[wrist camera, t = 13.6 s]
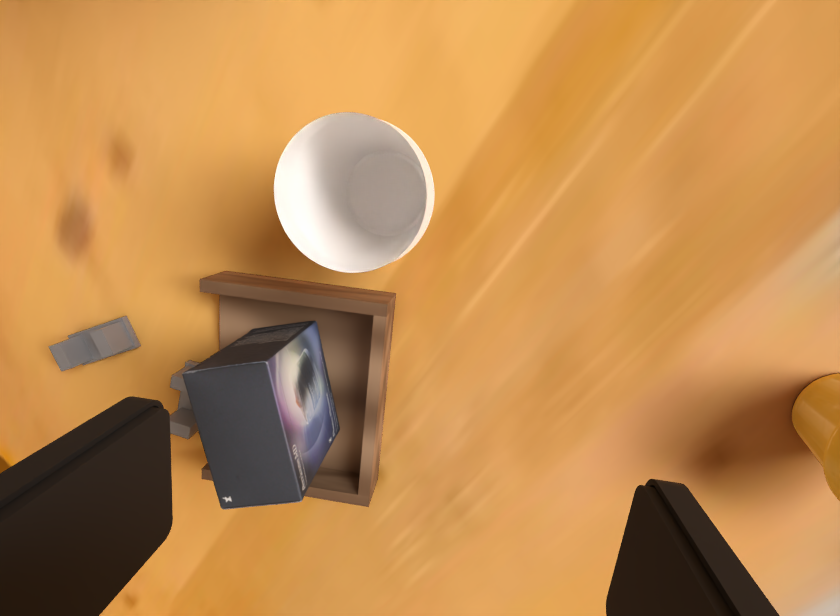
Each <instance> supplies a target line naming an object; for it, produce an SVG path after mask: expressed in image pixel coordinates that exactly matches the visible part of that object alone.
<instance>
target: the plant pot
mask: <svg viewBox="0 0 840 616" xmlns="http://www.w3.org/2000/svg"><path fill="white" fill-rule="evenodd" d="M792 422H793V425H794V428H795V430H796V432H797V433H798V435H799V436H800V437H801V439H802V440H803V441H804V442H805V444H806V445H807V446H808V448H809V449H810V450H811V452H812V453H813V454H814V456H815V457H816V458H817V460H818V461H819V462H820V464H821V465H822V466H823V468H824V474H825V477H826V480H827V483H828V485H829V487H830V489H831V491H832V492H833V494H834V495H835V496H836V497H837V499H838V500H839V501H840V373H837V374H832V375H828V376H825V377H822V378H820V379H817V380H815V381H813V382H812V383H811V384H809V385H808V386H807V387H806V388H805V389H804V390H803V391H802V392H801V393H800V394H799V396H798V398H797V399H796V401H795V403H794V406H793V409H792Z"/></svg>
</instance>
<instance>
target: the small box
mask: <svg viewBox="0 0 840 616" xmlns="http://www.w3.org/2000/svg"><path fill="white" fill-rule="evenodd" d="M182 376H183V379H184V383H185V386H186V390H187V393H188V397H189V400H190V403H191V407H192V410H193V414H194V417H195V420H196V424H197V427H198V431H199V434H200V438H201V441H202V444H203V448H204V451H205V454H206V458H207V462H208V465H209V468H210V471H211V475H212V478H213V482H214V485H215V489H216V492H217V495H218V499H219V502H220V506H221V508H222V509H234V508H243V507H254V506H265V505H277V504H286V503H295V502H301V501H302V500H303V497H304V495H305V493H306V491H307V489H308V487H309V486H310V484H311V482H312V480H313V478H314V476H315V475H316V473H317V471H318V469H319V467H320V465H321V463H322V461H323V460H324V458H325V456H326V454H327V452H328V450H329V449H330V447H331V445H332V443H333V441H334V439H335V438H336V436H337V434H338V432H339V431H340V426H339V422H338V417H337V413H336V408H335V403H334V399H333V394H332V390H331V385H330V380H329V376H328V371H327V367H326V362H325V357H324V353H323V348H322V344H321V339H320V334H319V330H318V325H317V322H316V321H306V322H298V323H291V324H283V325H276V326H270V327H262V328H254V329H252V330H250V331H249V332H248V333H247V334H245V335H244V336H242V337H241V338H239V339H237V340H236V341H234V342H233V343H231V344H229V345H228V346H226V347H225V348H223V349H222V350H220V351H218V352H217V353H215V354H214V355H212V356H211V357H210V358H207V359H206V360H204V361H203V362H201V363H200V364H197V365H196V366H194V367H193V368H191V369H188V370H187V371H185V372H183V373H182Z"/></svg>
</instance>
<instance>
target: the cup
mask: <svg viewBox="0 0 840 616" xmlns="http://www.w3.org/2000/svg"><path fill="white" fill-rule="evenodd" d="M274 198H275V205H276V210H277V213H278V217H279V220H280V222H281V224H282V227H283V228H284V230H285V232H286V234H287V235H288V237H289V239H290V240H291V241H292V242H293V244H294V245H295V246H296V247H297V248H298V249H299V250H300V251H301V252H302V253H303V254H304V255H305V256H307V257H308V258H309V259H311V260H312V261H314V262H316V263H317V264H319V265H321V266H323V267H326V268H329V269H332V270H335V271H340V272H348V273H360V272H367V271H371V270H375V269H377V268H380V267H382V266H385V265H387V264H389V263H391V262H394V261H396V260H398V259H399V258H401V257H402V256H404V255H405V254H407V253H408V252H409V251H410V250H411V249H412V248H413V247H414V246H415V245H416V244H417V243H418V241H419V240H420V239H421V237H422V236H423V234H424V232H425V231H426V229H427V226H428V224H429V222H430V219H431V215H432V211H433V206H434V184H433V178H432V174H431V171H430V168H429V165H428V163H427V160H426V158H425V156H424V155H423V153H422V151H421V150H420V148H419V147H418V146H417V144H416V143H415V142H414V141H413V140H412V139H411V138H410V137H409V136H408V135H407V134H406V133H404V132H403V131H402V130H401V129H399V128H397V127H396V126H394V125H392V124H390V123H388V122H386V121H383V120H380V119H377V118H375V117H372V116H369V115H365V114H361V113H353V112H343V113H335V114H330V115H326V116H323V117H321V118H318V119H316V120H314V121H312V122H311V123H309V124H308V125H306V126H305V127H303V128H302V129H301V130H300V131H299V132H298V133H297V134H296V135H295V136H294V137H293V138H292V139H291V140H290V142H289V143H288V144H287V146H286V148H285V149H284V151H283V153H282V155H281V157H280V160H279V163H278V166H277V169H276V174H275V180H274Z"/></svg>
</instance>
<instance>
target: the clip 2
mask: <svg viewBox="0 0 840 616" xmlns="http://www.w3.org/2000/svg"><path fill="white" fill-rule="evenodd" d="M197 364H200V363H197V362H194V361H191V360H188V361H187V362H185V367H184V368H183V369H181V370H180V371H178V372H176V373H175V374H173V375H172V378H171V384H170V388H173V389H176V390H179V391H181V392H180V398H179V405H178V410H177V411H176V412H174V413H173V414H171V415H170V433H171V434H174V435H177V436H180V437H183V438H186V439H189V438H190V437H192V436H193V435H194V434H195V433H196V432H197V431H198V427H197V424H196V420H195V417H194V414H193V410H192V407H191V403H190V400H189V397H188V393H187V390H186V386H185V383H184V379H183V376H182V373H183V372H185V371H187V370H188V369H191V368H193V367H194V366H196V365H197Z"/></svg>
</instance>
